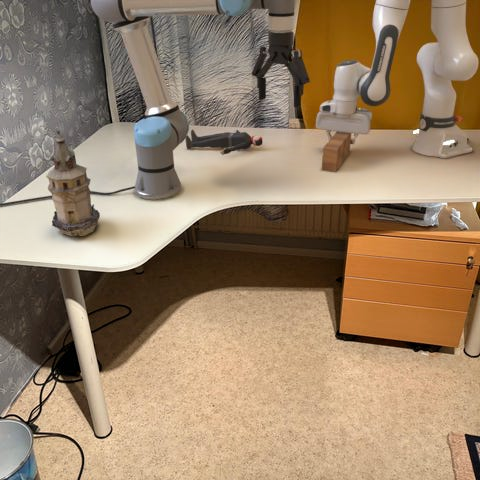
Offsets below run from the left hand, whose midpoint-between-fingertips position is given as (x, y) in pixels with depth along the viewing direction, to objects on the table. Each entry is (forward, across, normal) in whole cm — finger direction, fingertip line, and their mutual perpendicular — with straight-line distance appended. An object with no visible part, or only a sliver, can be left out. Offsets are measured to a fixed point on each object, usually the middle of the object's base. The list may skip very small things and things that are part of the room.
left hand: (279, 102), depth 169 cm
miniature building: (+28, +26, +62) cm, 73 cm away
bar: (+28, -4, -31) cm, 42 cm away
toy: (+28, +38, -16) cm, 50 cm away
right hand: (+23, -2, -38) cm, 44 cm away
